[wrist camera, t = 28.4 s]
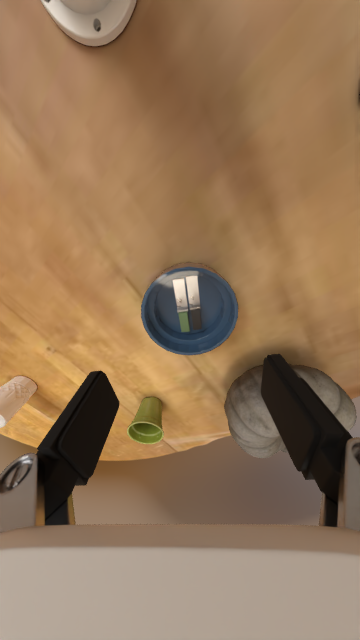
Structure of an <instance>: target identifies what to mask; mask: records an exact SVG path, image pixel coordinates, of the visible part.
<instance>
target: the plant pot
mask: <svg viewBox="0 0 360 640" xmlns="http://www.w3.org/2000/svg"><path fill="white" fill-rule="evenodd" d="M127 434H128V436H129V437H130V438H131V439H132V440H134V441H136V442H138V443H142V444H154V443H157V442H159V441H161V440H162V438H163V436H164V432H163V430H162V404H161V401H160V400H159V399H157V398H155V397H150V398H144V399H143V400H142V403H141V405H140V407H139V410H138V412H137V414H136V416H135V418H134V420H133V421H132V423H131V424H130V425H129V427H128V429H127Z"/></svg>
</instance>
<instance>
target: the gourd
mask: <svg viewBox="0 0 360 640" xmlns="http://www.w3.org/2000/svg"><path fill="white" fill-rule="evenodd" d="M289 366H290V367H291V368H292V369H293V371H294V372H295V373H296V374H297V376H298V377H299V378H303V379H304V380H305V381H306V382H307V383H308V384H309V386H310V387H311V388H312V389H313V390H314V392H315V393H316V394H317V395H318V396H319V398H320V399H321V400H322V401H323V402H324V404H325V405H326V406H327V407H328V408H329V410H330V411H331V412H332V413H333V414H334V416H335V417H336V418H337V419H338V420H339V422H340V423H341V424H342V425H343V426H344V428H345V429H346V430H347V431H349V430H350V429H351V428H352V427H353V426H354V424H355V422H356V410H355V406H354V404H353V402H352V400H351V399H350V397H349V396H348V395H347V394H346V392H345V391H344V390H343V389H342V388H341V387H340V386H339V385H338V384H337V383H335V382H334V381H333V380H332V379H331V378H330V377H329V376H328V375H327V374H325V373H324V372H322V371H320V370H318V369H315V368H311V367H307V366H303V365H291V364H289ZM262 373H263V366H258V367H254V368H252V369H251V370H248V371H247V372H245V373H244V374H243V375H242V376H240V377H239V378H237V379H236V380H235V381H234V382H233V383H232V385H231V388H230V389H229V391H228V393H227V398H226V401H225V405H224V409H225V413H226V416H227V418H228V425H229V430H230V433H231V435H232V436H233V438H234V440H235V441H236V442H237V443H238V445H239V446H240V447H241V448H242V449H243V450H244V451H245V452H247V453H248V454H250V455H252V456H255V457H259V458H268V457H270V456H272V455H273V454H275V453H277V452H278V451H283V452H286V453H288V451H287V449H286V447H285V444H284V442H283V440H282V438H281V436H280V434H279V432H278V430H277V428H276V426H275V423H274V421H273V419H272V417H271V415H270V413H269V411H268V409H267V407H266V405H265V402H264V400H263V398H262V396H261V382H262Z"/></svg>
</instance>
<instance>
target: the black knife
mask: <svg viewBox="0 0 360 640" xmlns="http://www.w3.org/2000/svg"><path fill="white" fill-rule="evenodd" d="M186 283H187V291H188V299H189V307H190V310H191V316H192V323H193V330H199V329H202V326H201V316H200V309H201V307H200V299H199V289H198V279H197V276H194V275H193V276H186Z"/></svg>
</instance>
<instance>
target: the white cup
mask: <svg viewBox="0 0 360 640" xmlns="http://www.w3.org/2000/svg"><path fill="white" fill-rule="evenodd" d="M36 390H37V385H36V383H35V382H34V381H32V380H31V379H29V378H27V377H24V376H16V377H14V378H13V379H12V380H10V381H9V382H7V383H6V384H4V385H3V386H1V387H0V428H1V427H4V426H5V425H6V424H7V423H8V422H9V421H10V420H11V418H12V417H13V416H14V415H15V414H16V413H17V412H18V411H19V410H20V409H21V408H22V406H23V405H24V404H25V403H26V402H27V401H28V399H29V398H30V397H31V396H32V395H33V394H34V392H35V391H36Z"/></svg>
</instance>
